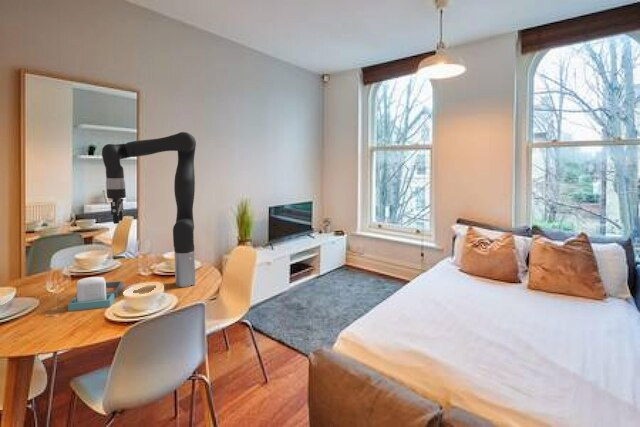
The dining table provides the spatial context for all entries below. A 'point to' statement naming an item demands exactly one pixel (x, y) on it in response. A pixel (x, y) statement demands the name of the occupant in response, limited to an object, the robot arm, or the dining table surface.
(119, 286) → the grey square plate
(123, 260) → the dining table surface
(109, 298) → the tray
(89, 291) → the grey rounded block
